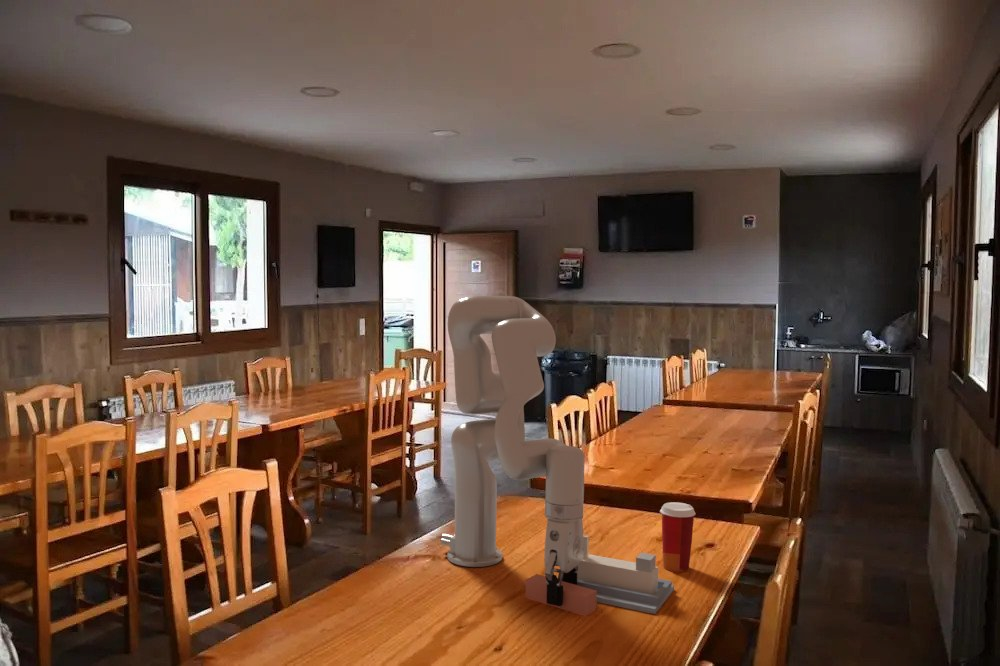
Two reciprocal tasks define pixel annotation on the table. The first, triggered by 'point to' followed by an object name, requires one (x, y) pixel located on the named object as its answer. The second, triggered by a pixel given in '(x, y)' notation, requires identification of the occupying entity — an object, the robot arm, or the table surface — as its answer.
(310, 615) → the table surface
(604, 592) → the tray
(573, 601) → the block
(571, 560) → the robot arm
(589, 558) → the white notched block
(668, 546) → the paper cup
